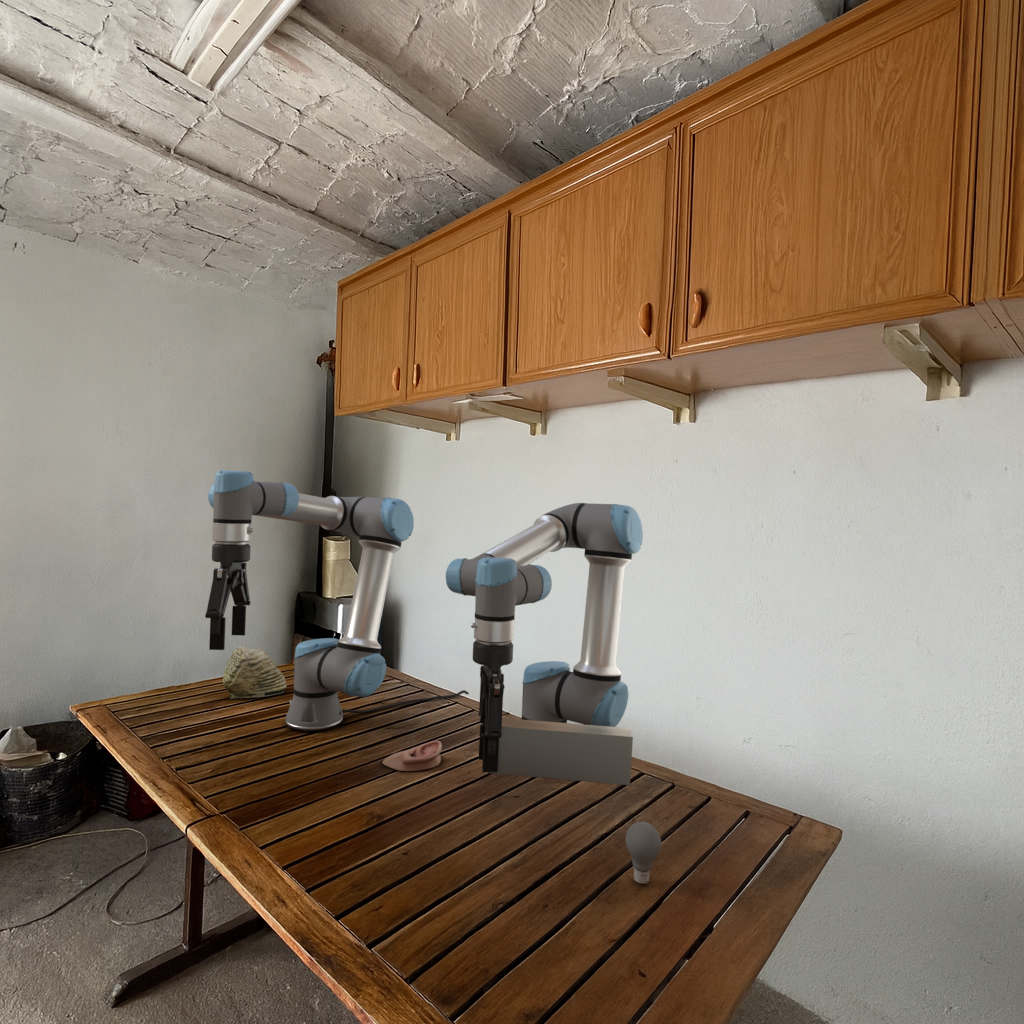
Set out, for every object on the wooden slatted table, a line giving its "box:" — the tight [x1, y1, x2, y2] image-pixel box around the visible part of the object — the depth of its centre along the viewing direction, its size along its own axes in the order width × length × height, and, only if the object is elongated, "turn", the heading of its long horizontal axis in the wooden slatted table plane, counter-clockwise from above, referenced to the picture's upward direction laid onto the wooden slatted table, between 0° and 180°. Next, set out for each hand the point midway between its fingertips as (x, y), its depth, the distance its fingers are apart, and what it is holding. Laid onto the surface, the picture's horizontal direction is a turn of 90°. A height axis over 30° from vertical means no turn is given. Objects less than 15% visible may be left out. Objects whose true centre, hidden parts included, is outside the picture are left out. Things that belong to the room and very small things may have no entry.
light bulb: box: [624, 821, 662, 884], centre depth 108 cm, size 6×6×10 cm
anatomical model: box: [382, 740, 443, 772], centre depth 153 cm, size 13×4×12 cm
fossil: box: [222, 646, 288, 699], centre depth 198 cm, size 9×18×15 cm, turn 132°
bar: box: [487, 717, 634, 786], centre depth 118 cm, size 26×5×9 cm, turn 86°
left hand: (228, 642), depth 135 cm, fingers open, 13 cm apart
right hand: (487, 764), depth 118 cm, fingers closed on bar, 5 cm apart
